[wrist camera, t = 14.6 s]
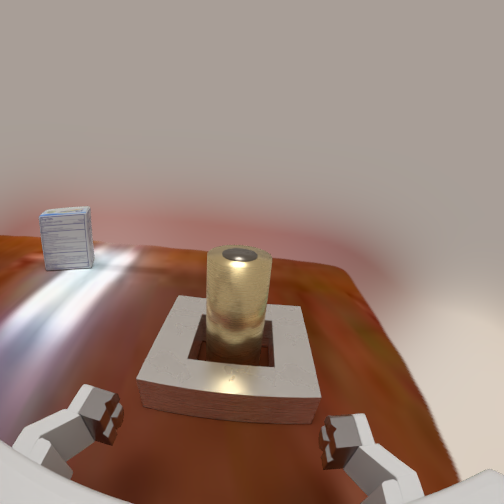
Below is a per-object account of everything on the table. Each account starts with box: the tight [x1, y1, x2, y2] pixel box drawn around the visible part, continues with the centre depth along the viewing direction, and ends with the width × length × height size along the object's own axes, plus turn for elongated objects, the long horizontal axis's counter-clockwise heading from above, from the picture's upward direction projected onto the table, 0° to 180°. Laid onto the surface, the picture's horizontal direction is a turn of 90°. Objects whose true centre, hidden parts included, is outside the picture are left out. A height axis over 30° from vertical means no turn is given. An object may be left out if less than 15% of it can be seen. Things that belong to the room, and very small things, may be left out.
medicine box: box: [39, 206, 94, 271], centre depth 36 cm, size 8×4×9 cm, turn 112°
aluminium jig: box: [136, 296, 321, 424], centre depth 22 cm, size 12×12×3 cm
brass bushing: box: [206, 245, 272, 366], centre depth 21 cm, size 4×4×10 cm
